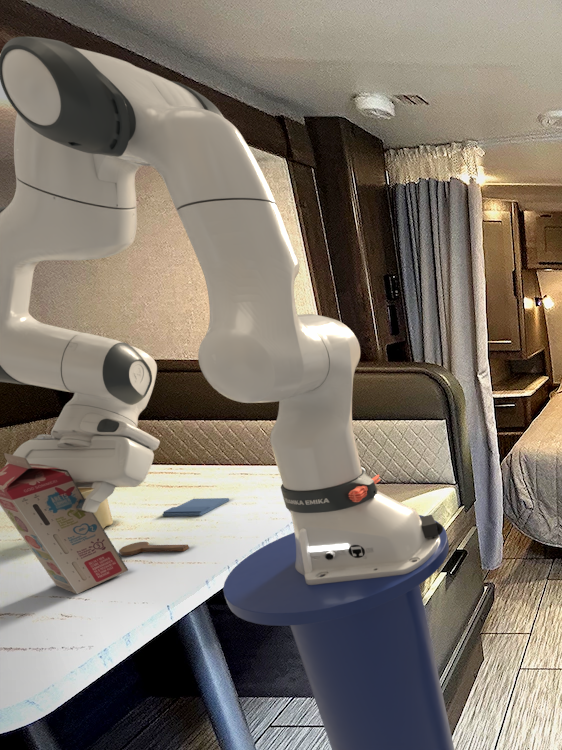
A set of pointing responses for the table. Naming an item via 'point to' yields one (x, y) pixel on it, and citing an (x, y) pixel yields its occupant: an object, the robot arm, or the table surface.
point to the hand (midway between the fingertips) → (56, 512)
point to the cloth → (195, 507)
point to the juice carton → (57, 525)
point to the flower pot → (100, 509)
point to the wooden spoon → (149, 548)
